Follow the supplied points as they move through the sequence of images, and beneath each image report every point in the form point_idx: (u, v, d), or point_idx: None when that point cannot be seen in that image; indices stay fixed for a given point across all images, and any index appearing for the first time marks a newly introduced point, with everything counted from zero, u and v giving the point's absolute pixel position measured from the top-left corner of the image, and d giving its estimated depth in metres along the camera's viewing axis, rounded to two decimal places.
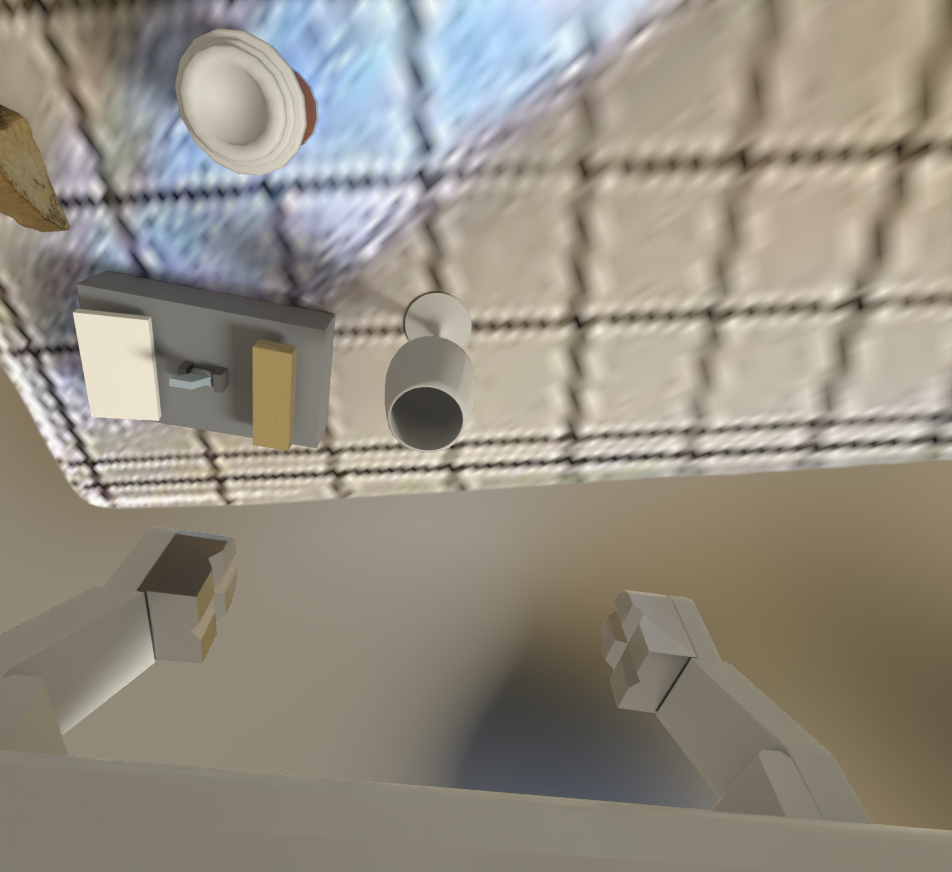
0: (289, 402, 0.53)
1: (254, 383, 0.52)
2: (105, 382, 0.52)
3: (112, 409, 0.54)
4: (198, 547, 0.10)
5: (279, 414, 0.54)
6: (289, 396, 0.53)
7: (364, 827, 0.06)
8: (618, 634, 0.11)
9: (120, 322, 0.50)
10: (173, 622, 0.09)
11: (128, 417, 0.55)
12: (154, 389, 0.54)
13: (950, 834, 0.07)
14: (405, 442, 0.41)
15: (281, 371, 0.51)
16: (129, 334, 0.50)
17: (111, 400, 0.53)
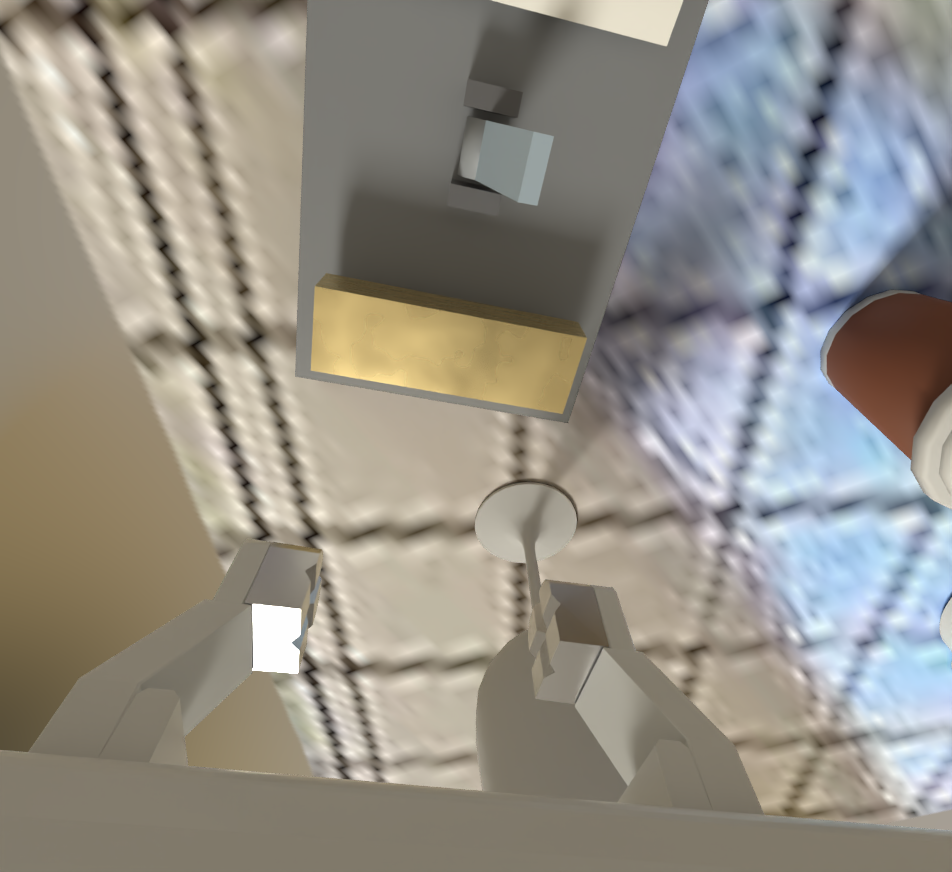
0: (445, 391, 0.23)
1: (496, 324, 0.22)
2: None
3: None
4: (293, 560, 0.10)
5: (413, 367, 0.22)
6: (461, 394, 0.23)
7: (364, 827, 0.06)
8: (540, 624, 0.11)
9: None
10: (275, 634, 0.09)
11: None
12: None
13: (950, 834, 0.07)
14: None
15: (522, 387, 0.23)
16: None
17: None
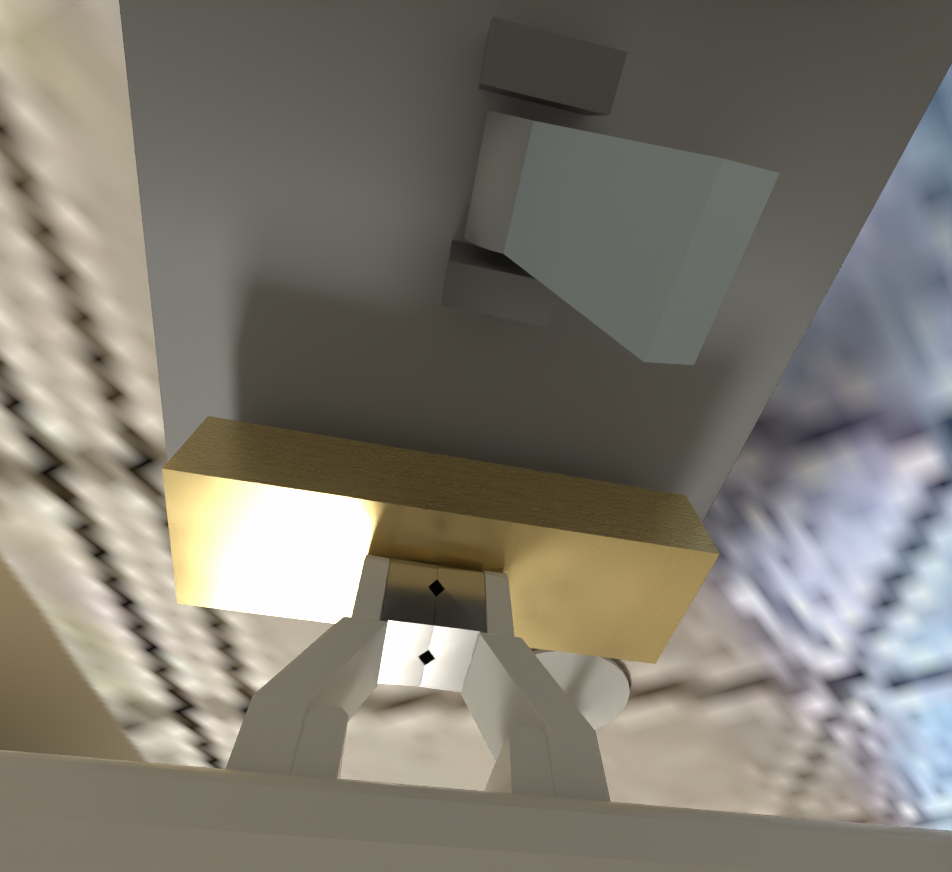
0: None
1: (541, 532, 0.11)
2: None
3: None
4: (414, 575, 0.10)
5: None
6: None
7: (364, 827, 0.06)
8: None
9: None
10: (404, 649, 0.10)
11: None
12: None
13: (950, 834, 0.07)
14: None
15: (584, 627, 0.12)
16: None
17: None
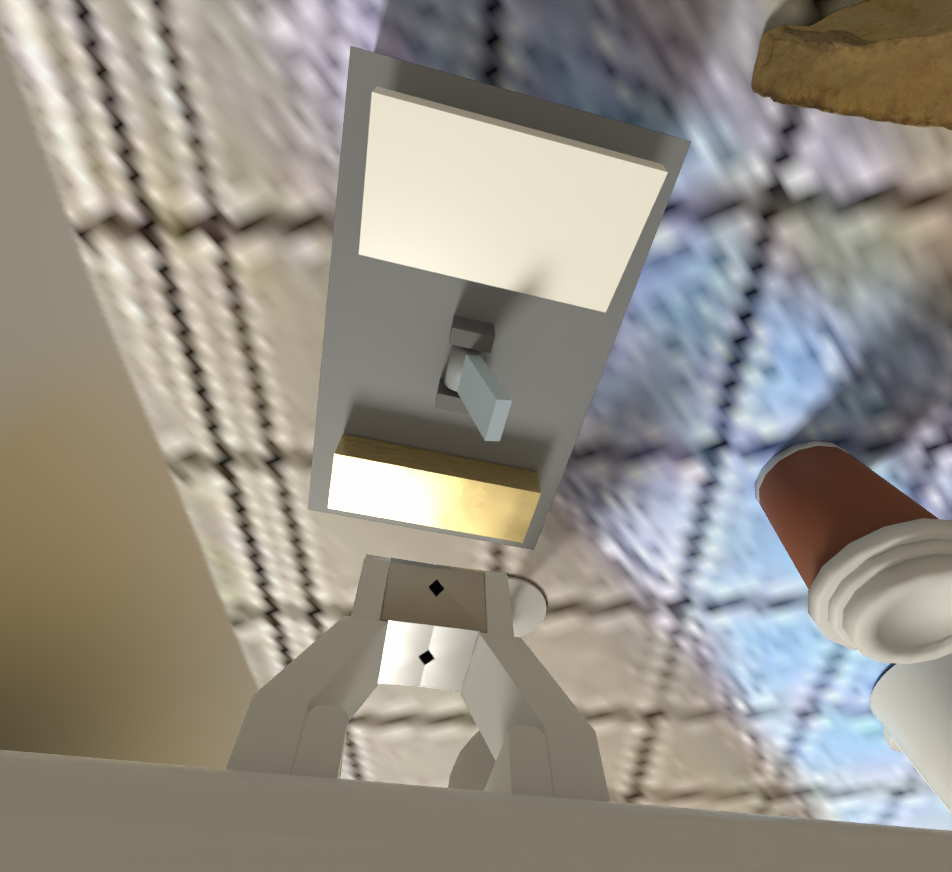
0: (431, 524, 0.30)
1: (471, 482, 0.28)
2: (474, 172, 0.20)
3: (394, 158, 0.20)
4: (415, 575, 0.10)
5: (407, 508, 0.29)
6: (443, 527, 0.30)
7: (364, 827, 0.06)
8: None
9: (615, 261, 0.22)
10: (404, 649, 0.10)
11: (368, 189, 0.21)
12: (444, 272, 0.23)
13: (950, 834, 0.07)
14: None
15: (491, 524, 0.30)
16: (585, 268, 0.22)
17: (421, 166, 0.20)
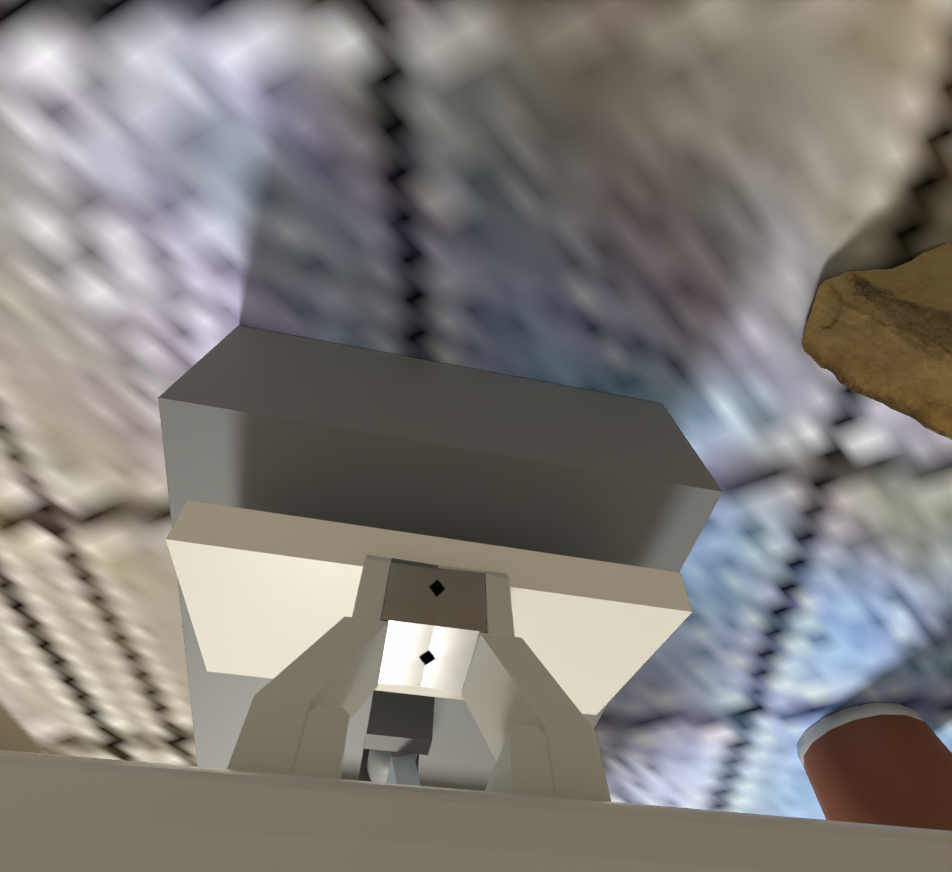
0: None
1: None
2: None
3: (231, 597, 0.12)
4: (415, 576, 0.10)
5: None
6: None
7: (364, 827, 0.06)
8: None
9: (608, 679, 0.14)
10: (405, 649, 0.10)
11: (199, 622, 0.13)
12: None
13: (950, 834, 0.07)
14: None
15: None
16: (562, 684, 0.14)
17: (278, 604, 0.12)
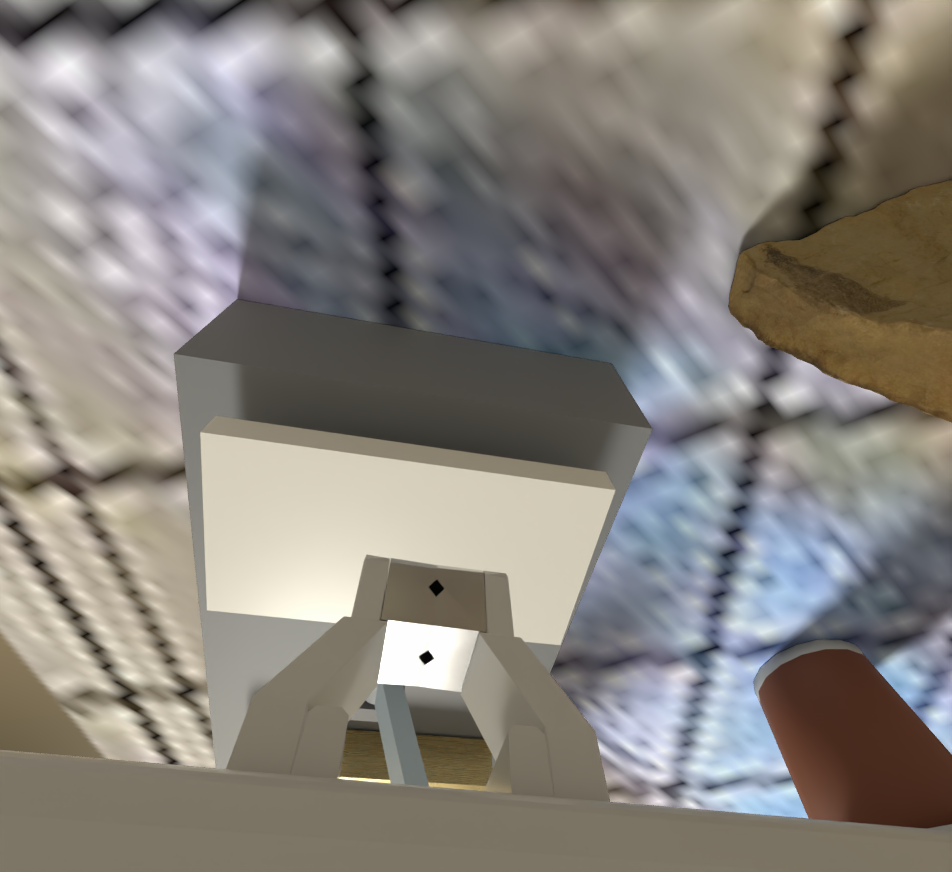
0: None
1: None
2: (356, 508, 0.15)
3: (243, 501, 0.14)
4: (415, 576, 0.10)
5: None
6: None
7: (364, 827, 0.06)
8: None
9: (563, 589, 0.16)
10: (405, 649, 0.10)
11: (210, 537, 0.15)
12: (331, 620, 0.16)
13: (950, 834, 0.07)
14: None
15: None
16: (525, 600, 0.16)
17: (282, 507, 0.15)
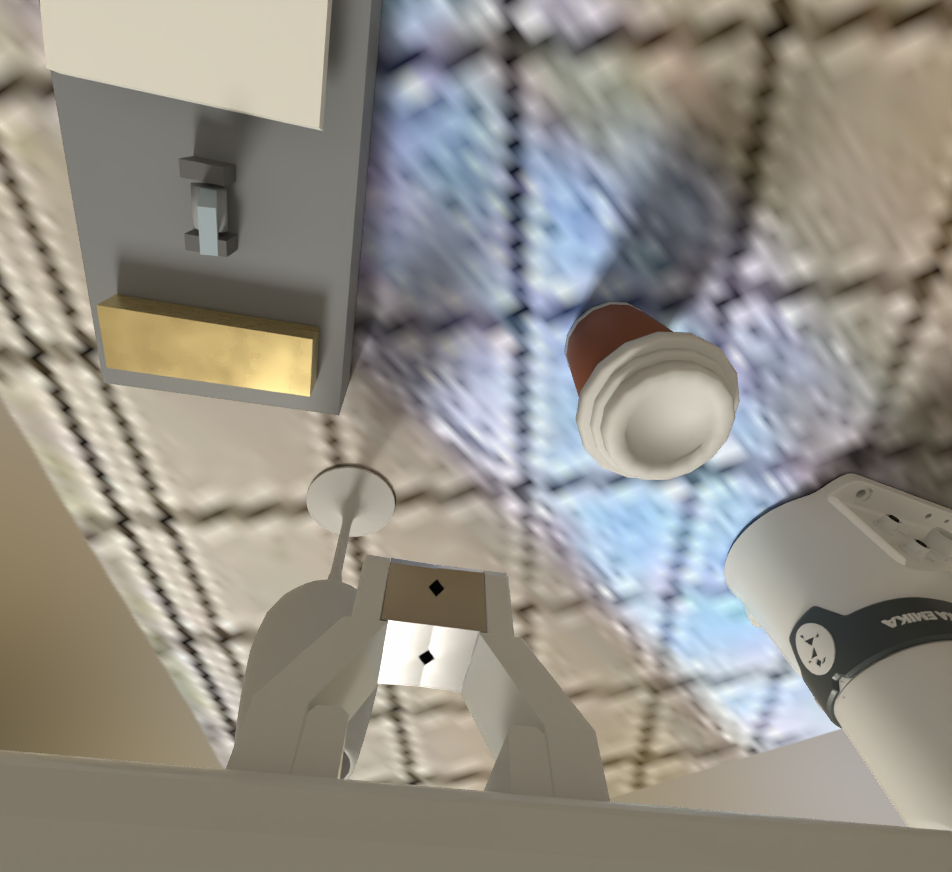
0: (215, 381, 0.31)
1: (241, 330, 0.29)
2: None
3: None
4: (415, 575, 0.10)
5: (185, 363, 0.30)
6: (228, 383, 0.31)
7: (364, 827, 0.06)
8: None
9: (310, 63, 0.23)
10: (404, 649, 0.10)
11: None
12: (141, 86, 0.23)
13: (950, 834, 0.07)
14: None
15: (273, 377, 0.31)
16: (284, 74, 0.23)
17: None
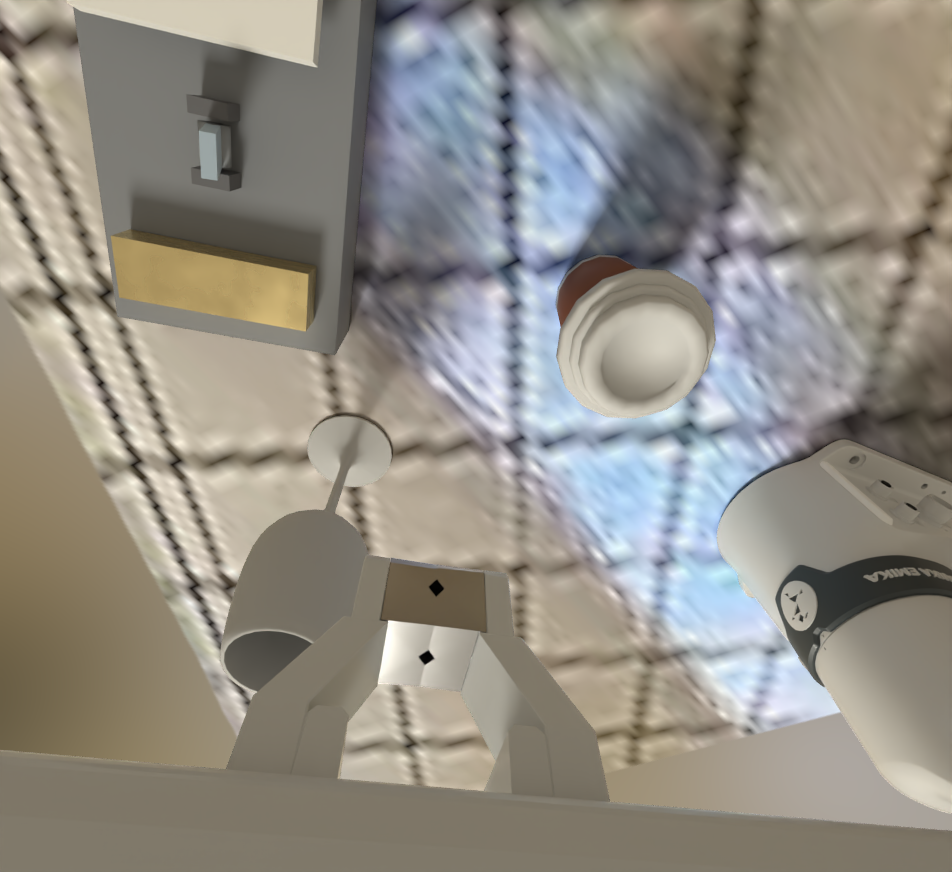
0: (218, 314, 0.33)
1: (242, 263, 0.31)
2: None
3: None
4: (415, 576, 0.10)
5: (191, 295, 0.32)
6: (229, 316, 0.33)
7: (364, 827, 0.06)
8: None
9: (305, 0, 0.25)
10: (405, 649, 0.10)
11: None
12: (151, 20, 0.25)
13: (950, 834, 0.07)
14: None
15: (272, 310, 0.33)
16: (281, 10, 0.25)
17: None
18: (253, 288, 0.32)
